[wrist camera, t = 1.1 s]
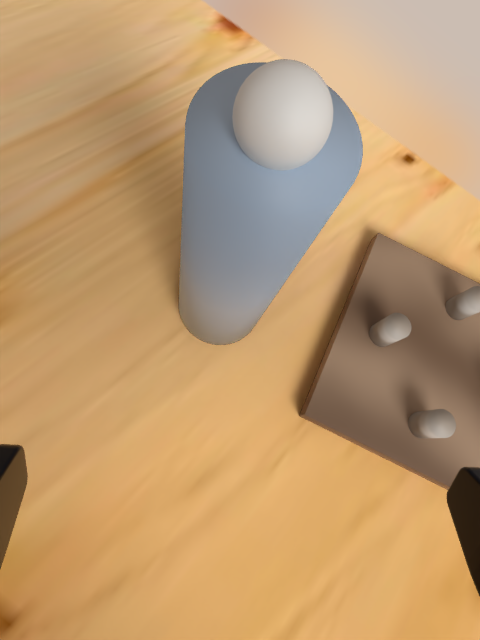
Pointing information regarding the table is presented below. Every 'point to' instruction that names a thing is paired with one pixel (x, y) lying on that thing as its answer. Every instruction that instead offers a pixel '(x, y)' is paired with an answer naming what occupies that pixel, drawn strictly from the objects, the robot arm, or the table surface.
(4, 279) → the table surface
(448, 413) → the brown pegged base plate
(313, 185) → the pepper mill
